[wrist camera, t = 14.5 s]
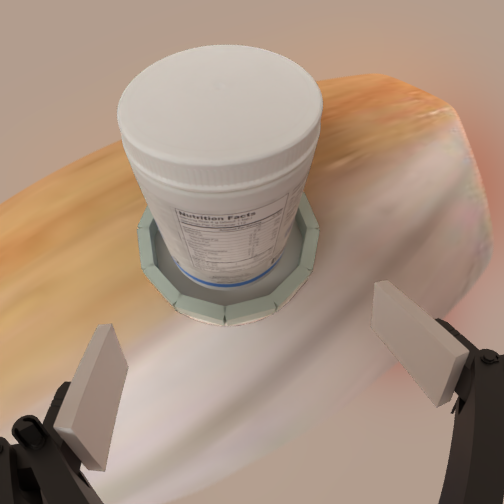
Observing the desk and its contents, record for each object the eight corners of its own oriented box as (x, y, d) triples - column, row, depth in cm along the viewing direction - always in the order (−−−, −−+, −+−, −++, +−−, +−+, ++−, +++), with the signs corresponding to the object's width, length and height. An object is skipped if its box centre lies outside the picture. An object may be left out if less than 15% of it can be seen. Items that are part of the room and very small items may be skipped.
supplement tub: (166, 201, 27) (122, 57, 13) (269, 183, 28) (288, 36, 15) (178, 306, 23) (101, 187, 9) (299, 282, 24) (363, 148, 11)
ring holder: (124, 298, 24) (111, 286, 21) (181, 168, 30) (177, 148, 27) (291, 345, 23) (298, 339, 20) (320, 199, 29) (327, 179, 26)
